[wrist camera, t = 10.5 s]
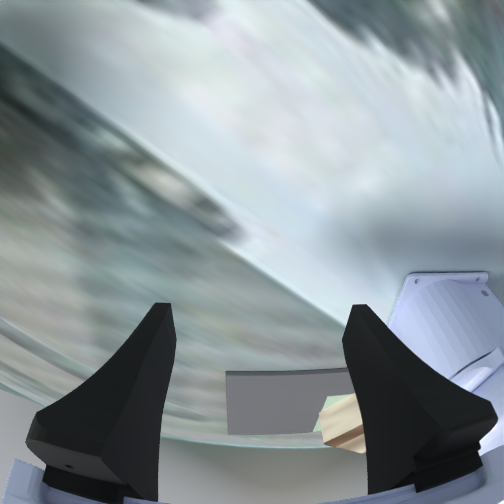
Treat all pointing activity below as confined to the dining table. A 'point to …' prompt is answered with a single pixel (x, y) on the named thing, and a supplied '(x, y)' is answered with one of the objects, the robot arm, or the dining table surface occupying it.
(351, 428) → the block
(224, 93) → the dining table surface
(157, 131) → the dining table surface
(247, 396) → the mat
